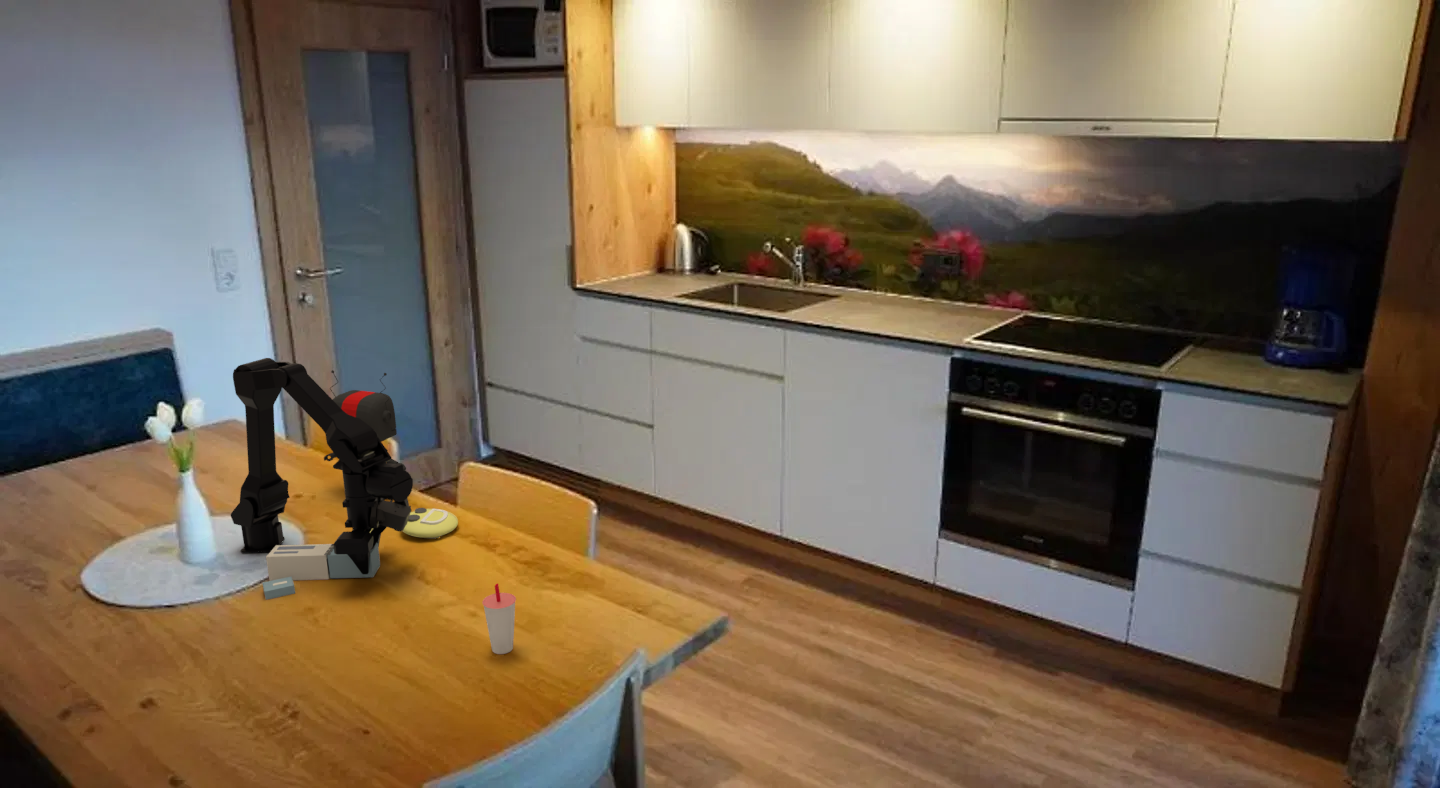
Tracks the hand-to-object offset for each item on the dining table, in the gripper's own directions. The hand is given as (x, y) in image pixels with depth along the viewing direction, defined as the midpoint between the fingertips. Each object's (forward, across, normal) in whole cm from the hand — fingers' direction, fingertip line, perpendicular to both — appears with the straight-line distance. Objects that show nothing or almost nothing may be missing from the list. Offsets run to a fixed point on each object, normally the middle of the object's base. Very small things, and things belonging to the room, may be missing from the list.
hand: (369, 567), depth 187 cm
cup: (+1, -29, -30) cm, 42 cm away
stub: (+1, 0, +3) cm, 3 cm away
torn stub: (+1, -7, +14) cm, 16 cm away
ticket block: (+1, 0, +12) cm, 13 cm away
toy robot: (+1, +39, +11) cm, 41 cm away
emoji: (+1, +19, -7) cm, 20 cm away
